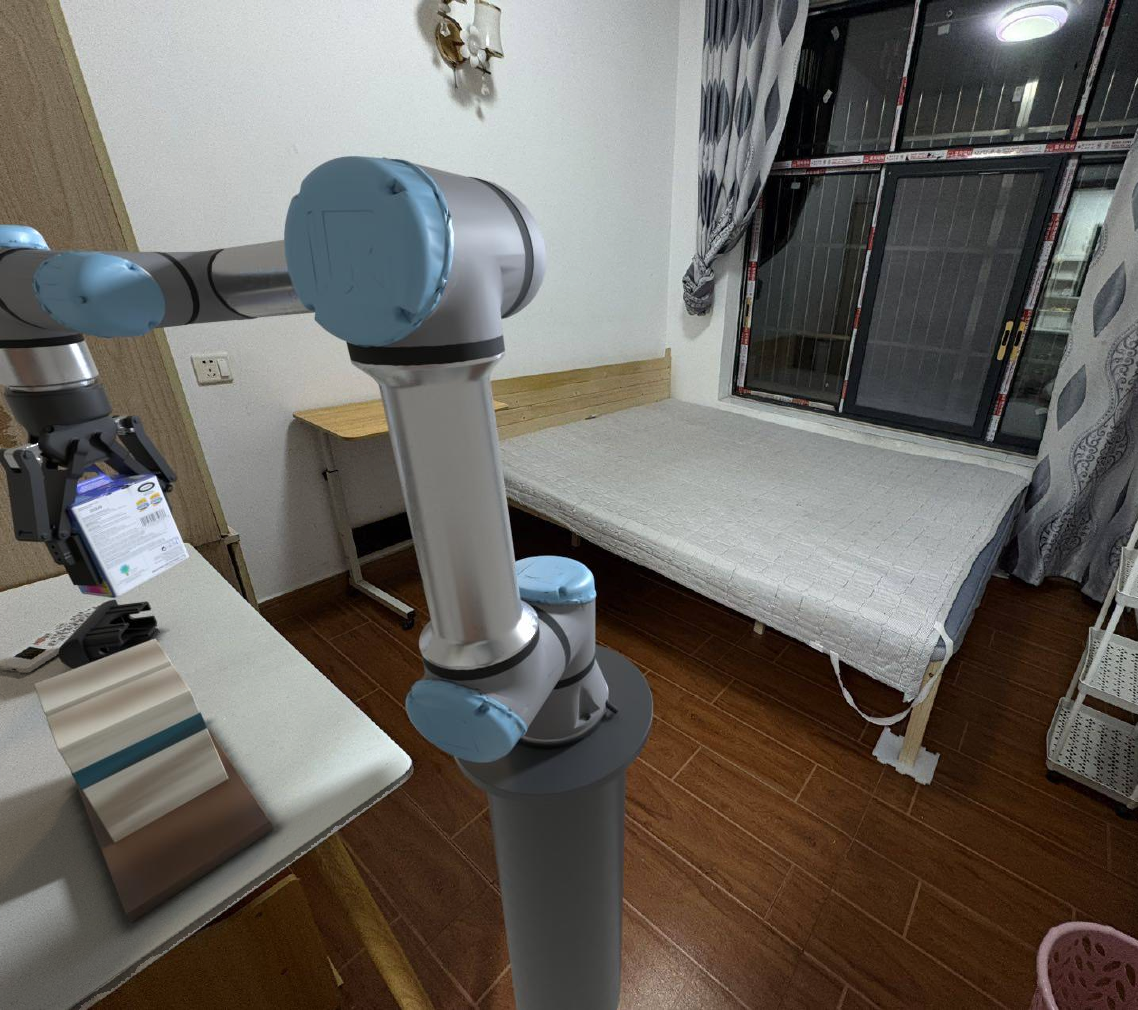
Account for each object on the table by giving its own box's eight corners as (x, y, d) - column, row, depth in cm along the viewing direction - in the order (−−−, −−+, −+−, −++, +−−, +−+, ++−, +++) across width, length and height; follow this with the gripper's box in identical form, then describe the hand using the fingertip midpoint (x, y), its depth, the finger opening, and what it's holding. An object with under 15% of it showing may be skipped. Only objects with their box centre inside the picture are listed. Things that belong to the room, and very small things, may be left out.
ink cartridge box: (155, 553, 74) (113, 453, 68) (192, 557, 74) (153, 456, 67) (75, 594, 65) (18, 483, 59) (117, 599, 65) (64, 487, 59)
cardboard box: (274, 829, 61) (234, 729, 54) (131, 923, 52) (63, 817, 46) (204, 724, 73) (164, 632, 67) (79, 786, 64) (18, 687, 58)
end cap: (107, 636, 87) (89, 601, 84) (162, 628, 90) (147, 594, 87) (69, 679, 79) (49, 642, 76) (131, 670, 81) (113, 633, 78)
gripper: (115, 361, 69) (176, 518, 79) (-122, 409, 49) (-2, 613, 58) (175, 364, 69) (228, 520, 79) (-37, 413, 49) (69, 616, 58)
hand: (130, 559), depth 68 cm, fingers closed on ink cartridge box, 10 cm apart
